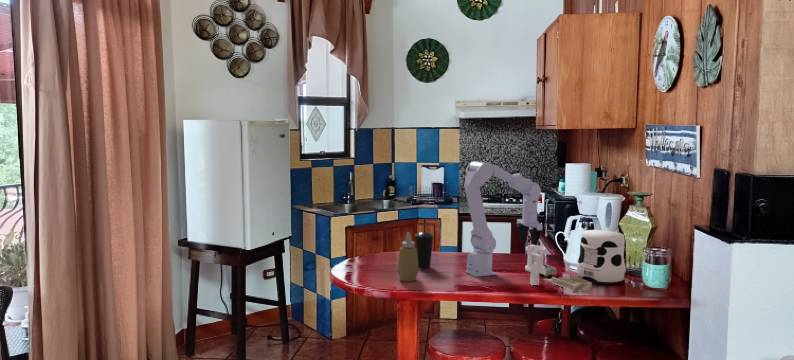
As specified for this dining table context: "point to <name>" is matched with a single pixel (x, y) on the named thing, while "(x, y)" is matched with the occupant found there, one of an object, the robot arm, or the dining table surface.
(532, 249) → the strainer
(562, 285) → the dock
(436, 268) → the dining table surface
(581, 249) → the milk container
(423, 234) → the drinking cup
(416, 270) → the squeeze bottle
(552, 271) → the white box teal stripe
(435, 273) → the dining table surface
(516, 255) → the dining table surface
